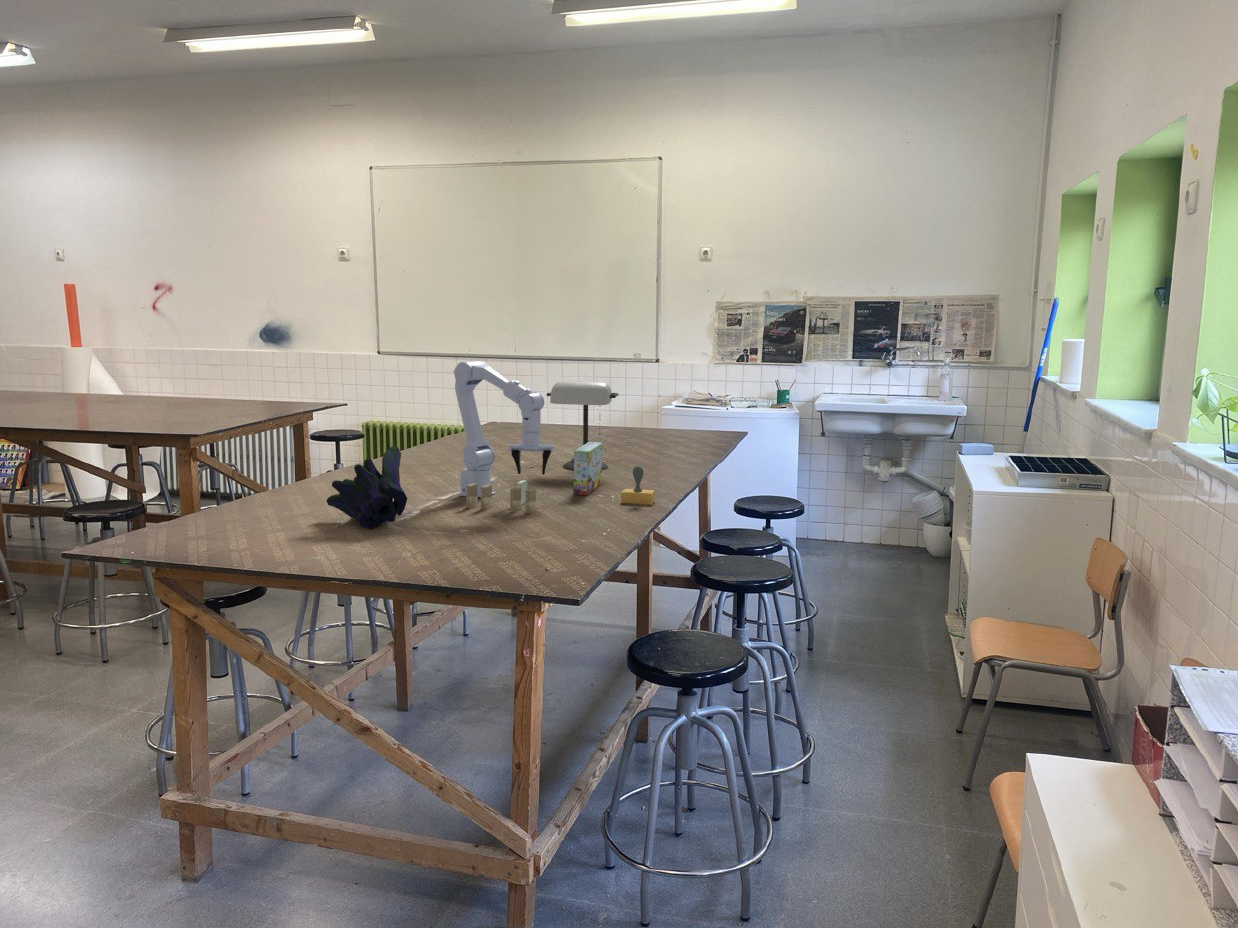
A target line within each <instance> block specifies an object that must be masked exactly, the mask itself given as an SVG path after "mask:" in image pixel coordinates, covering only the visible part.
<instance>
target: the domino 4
mask: <svg viewBox="0 0 1238 928" xmlns="http://www.w3.org/2000/svg"><path fill="white" fill-rule="evenodd" d="M516 487H521V506H523V505H524V504H525V491H526V490H528V480H525V479H524V480H520V481H518V482H516Z"/></svg>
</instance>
